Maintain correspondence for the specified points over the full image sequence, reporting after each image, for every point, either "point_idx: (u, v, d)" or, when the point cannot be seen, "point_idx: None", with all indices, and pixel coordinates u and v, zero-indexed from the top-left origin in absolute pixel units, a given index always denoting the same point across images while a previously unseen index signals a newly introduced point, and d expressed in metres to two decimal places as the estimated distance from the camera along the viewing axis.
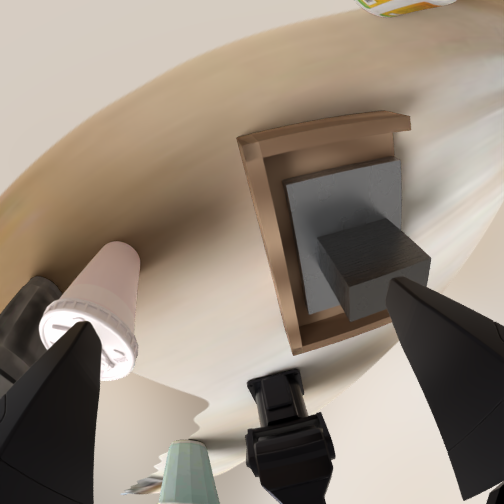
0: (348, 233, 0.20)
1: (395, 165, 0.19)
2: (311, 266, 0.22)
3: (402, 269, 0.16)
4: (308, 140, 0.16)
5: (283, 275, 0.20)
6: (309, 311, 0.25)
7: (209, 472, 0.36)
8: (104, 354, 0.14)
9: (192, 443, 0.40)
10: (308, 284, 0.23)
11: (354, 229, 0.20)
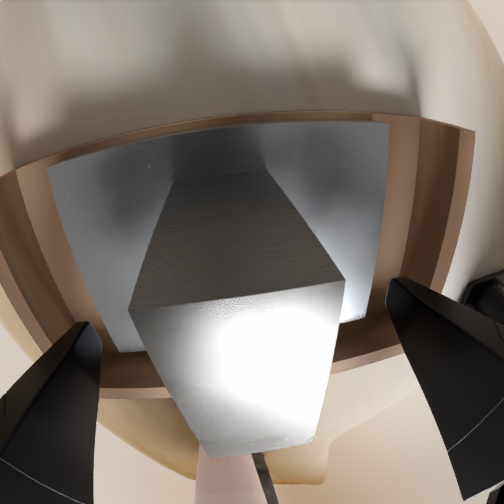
0: None
1: (57, 179, 0.08)
2: None
3: (175, 400, 0.05)
4: None
5: None
6: (359, 317, 0.13)
7: None
8: None
9: None
10: None
11: None
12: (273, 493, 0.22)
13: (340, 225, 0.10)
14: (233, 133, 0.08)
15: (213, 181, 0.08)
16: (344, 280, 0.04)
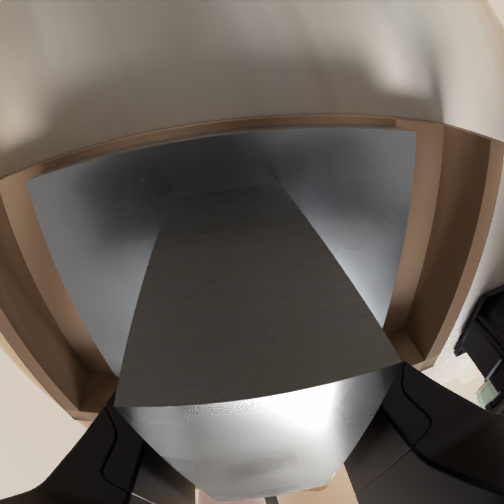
0: None
1: (38, 193, 0.07)
2: None
3: (180, 471, 0.04)
4: (41, 375, 0.09)
5: None
6: None
7: None
8: None
9: (489, 383, 0.26)
10: None
11: None
12: None
13: (360, 245, 0.09)
14: (241, 141, 0.07)
15: (217, 199, 0.07)
16: (400, 363, 0.03)
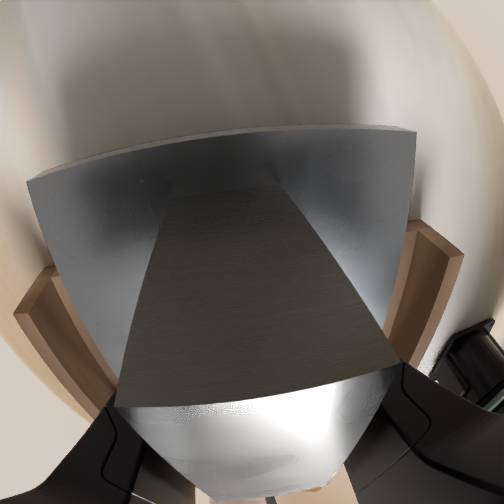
0: None
1: (38, 194, 0.07)
2: None
3: (180, 471, 0.04)
4: (96, 414, 0.12)
5: None
6: None
7: None
8: None
9: None
10: None
11: None
12: (274, 502, 0.24)
13: (359, 246, 0.09)
14: (241, 141, 0.07)
15: (217, 199, 0.07)
16: (400, 363, 0.03)
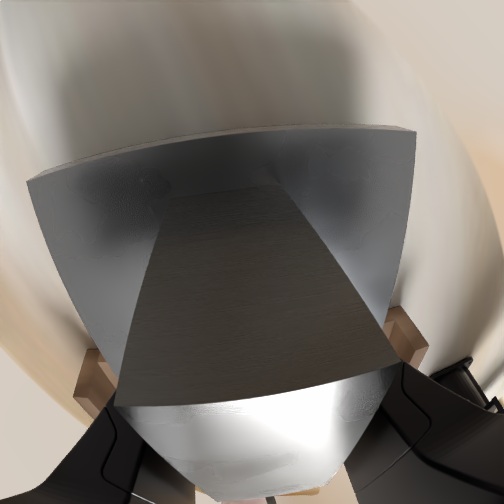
0: None
1: (38, 194, 0.07)
2: None
3: (180, 471, 0.04)
4: None
5: None
6: None
7: None
8: None
9: None
10: None
11: None
12: None
13: (359, 246, 0.09)
14: (241, 141, 0.07)
15: (217, 199, 0.07)
16: (400, 363, 0.03)
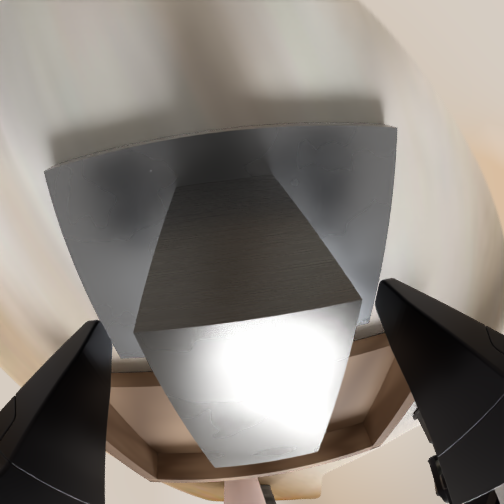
0: None
1: (55, 183, 0.08)
2: None
3: (181, 416, 0.05)
4: (138, 469, 0.14)
5: (266, 474, 0.17)
6: (363, 322, 0.13)
7: None
8: None
9: None
10: None
11: None
12: None
13: (346, 231, 0.10)
14: (238, 136, 0.08)
15: (217, 187, 0.08)
16: (361, 300, 0.04)
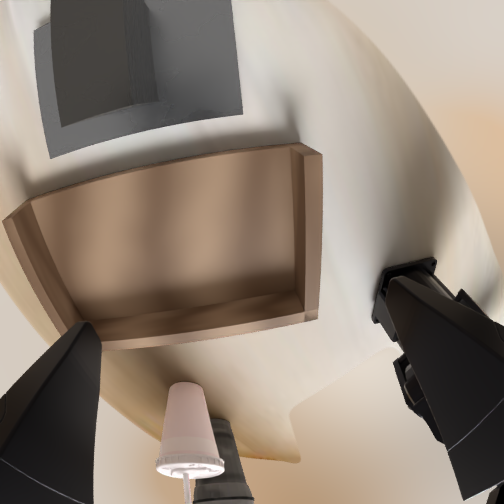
0: None
1: (38, 34, 0.09)
2: (150, 115, 0.14)
3: (51, 42, 0.06)
4: (54, 315, 0.16)
5: (182, 336, 0.19)
6: (237, 113, 0.15)
7: None
8: (193, 468, 0.19)
9: None
10: (179, 118, 0.14)
11: None
12: (235, 454, 0.28)
13: (199, 33, 0.12)
14: None
15: None
16: None
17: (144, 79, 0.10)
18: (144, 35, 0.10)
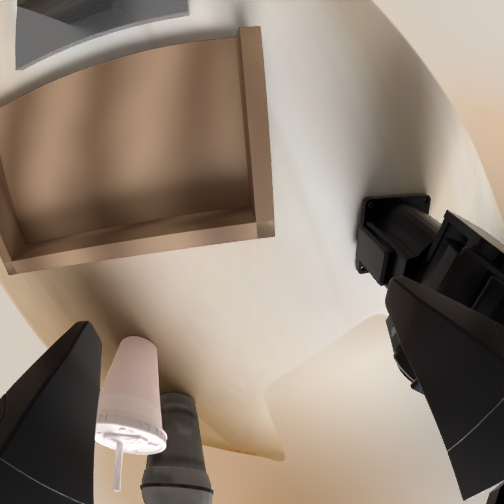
0: None
1: None
2: (103, 20, 0.11)
3: None
4: None
5: (111, 248, 0.15)
6: (182, 11, 0.11)
7: None
8: (125, 435, 0.16)
9: None
10: (129, 19, 0.11)
11: None
12: (194, 435, 0.25)
13: None
14: None
15: None
16: None
17: None
18: None
